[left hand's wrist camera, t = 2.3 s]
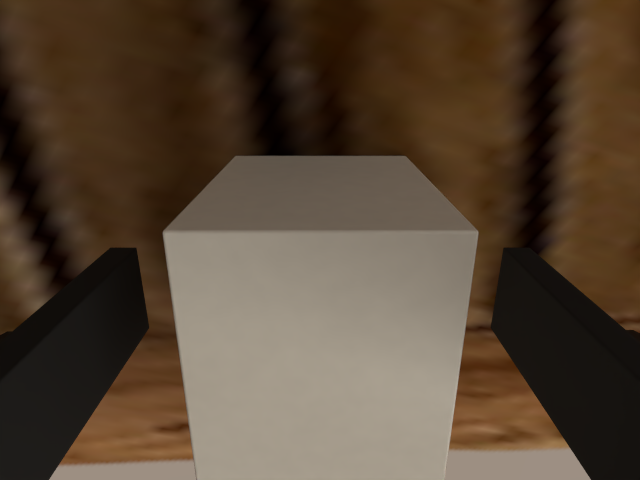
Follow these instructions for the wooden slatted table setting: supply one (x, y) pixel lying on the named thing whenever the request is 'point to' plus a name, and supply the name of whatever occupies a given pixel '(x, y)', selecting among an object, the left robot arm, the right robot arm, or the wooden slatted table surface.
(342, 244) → the brick
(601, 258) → the wooden slatted table surface
